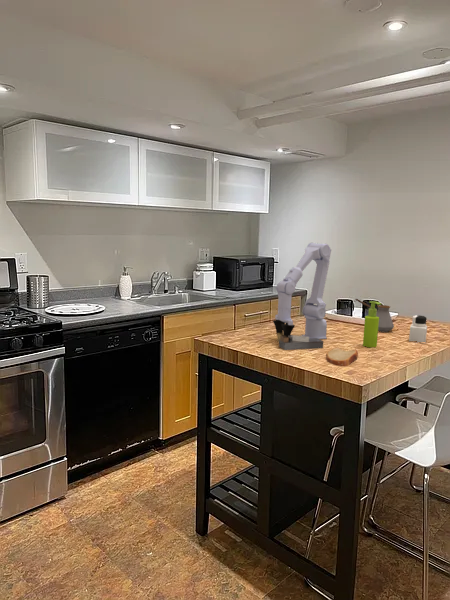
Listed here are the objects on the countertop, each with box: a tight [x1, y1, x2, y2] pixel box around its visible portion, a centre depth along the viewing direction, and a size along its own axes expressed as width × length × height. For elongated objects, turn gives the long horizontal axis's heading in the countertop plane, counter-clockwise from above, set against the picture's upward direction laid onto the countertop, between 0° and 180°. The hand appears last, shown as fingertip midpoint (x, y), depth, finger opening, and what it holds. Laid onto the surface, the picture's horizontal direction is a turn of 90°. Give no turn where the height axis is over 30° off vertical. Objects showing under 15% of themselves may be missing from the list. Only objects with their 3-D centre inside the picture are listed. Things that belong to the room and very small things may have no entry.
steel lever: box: [288, 334, 309, 342], centre depth 199 cm, size 9×2×2 cm, turn 76°
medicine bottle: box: [408, 314, 428, 343], centre depth 220 cm, size 7×7×12 cm
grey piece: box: [278, 335, 324, 351], centre depth 201 cm, size 18×6×5 cm, turn 107°
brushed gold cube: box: [276, 332, 283, 343], centre depth 210 cm, size 4×4×4 cm
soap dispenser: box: [362, 300, 382, 348], centre depth 206 cm, size 6×7×20 cm
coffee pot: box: [354, 298, 395, 333], centre depth 243 cm, size 21×12×15 cm, turn 53°
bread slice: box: [325, 347, 359, 367], centre depth 185 cm, size 18×18×4 cm
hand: (282, 337), depth 210 cm, fingers open, 7 cm apart
